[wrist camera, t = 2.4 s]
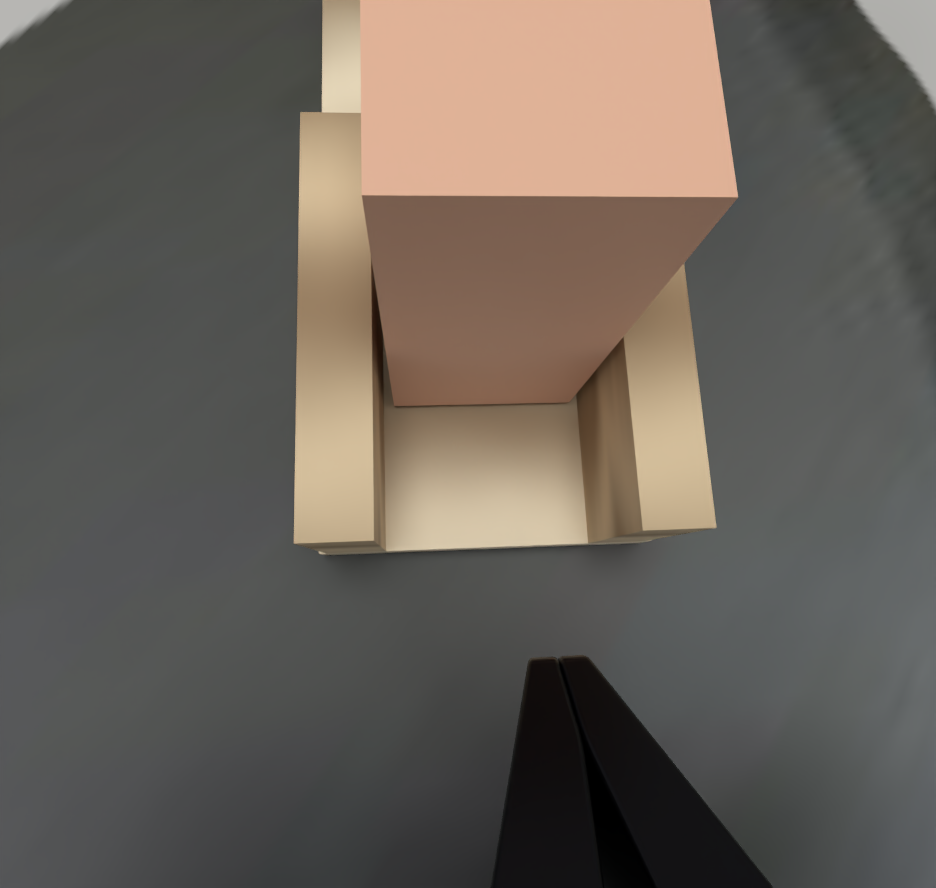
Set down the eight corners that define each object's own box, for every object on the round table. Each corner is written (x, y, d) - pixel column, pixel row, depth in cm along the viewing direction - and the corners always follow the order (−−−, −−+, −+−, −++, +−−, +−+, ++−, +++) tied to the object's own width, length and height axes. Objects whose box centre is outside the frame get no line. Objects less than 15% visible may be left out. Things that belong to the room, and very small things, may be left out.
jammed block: (569, 402, 18) (737, 197, 9) (394, 405, 18) (361, 195, 8) (554, 213, 20) (687, -153, 10) (390, 213, 19) (358, -169, 9)
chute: (639, 543, 19) (725, 527, 14) (324, 555, 18) (283, 544, 13) (587, 8, 23) (638, -168, 18) (327, 0, 22) (297, -185, 17)
